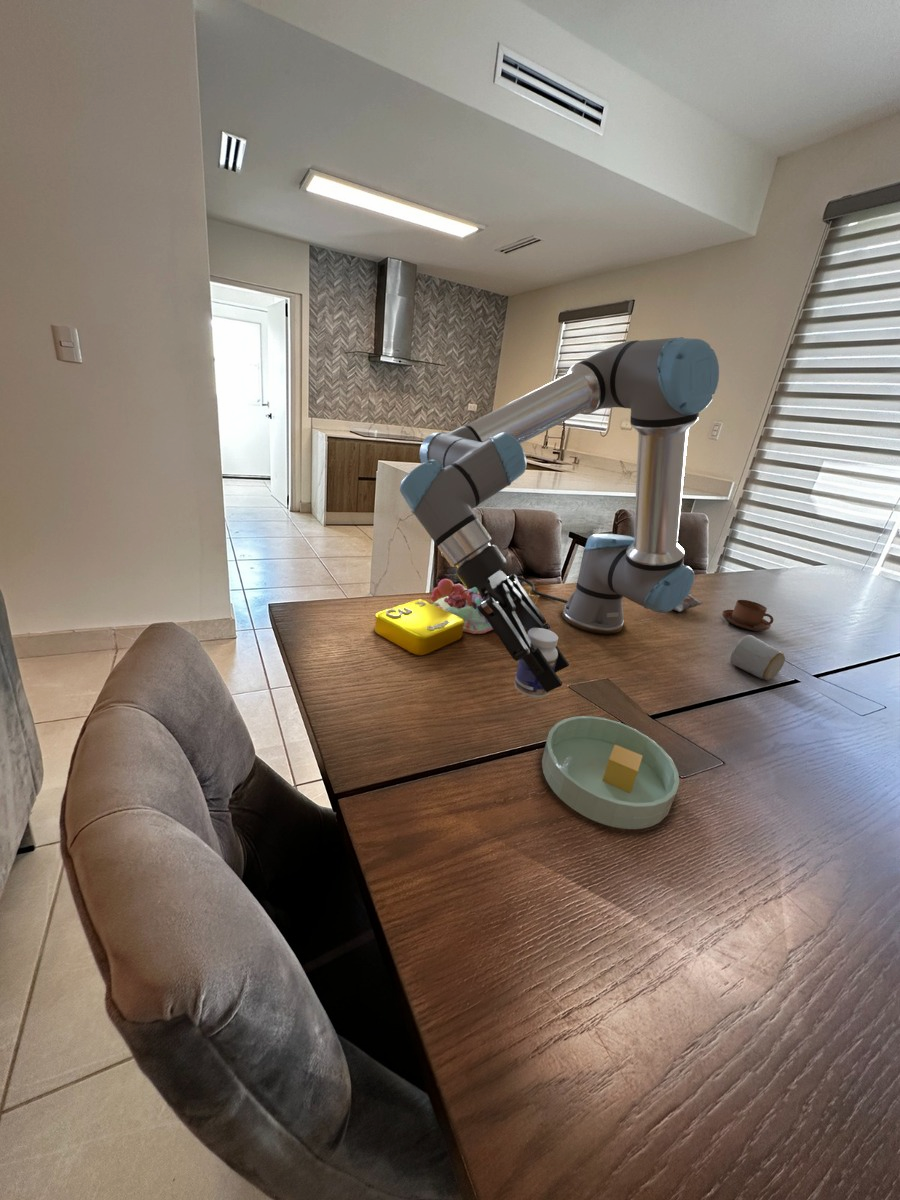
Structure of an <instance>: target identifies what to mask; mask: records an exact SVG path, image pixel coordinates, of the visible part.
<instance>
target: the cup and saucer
mask: <svg viewBox="0 0 900 1200" xmlns="http://www.w3.org/2000/svg"><path fill="white" fill-rule="evenodd" d="M767 609H768V608H767V607H766V606H765V605H763V604H761V603H758V602H755V601H752V600H748V599H737V600H736V603H735V605H734V608H733V609H725V610H723V611H722V617H723V618H724V619H725V620H726V621H727V622H728V623H730V624H732V625H733V626H735V627H738V628H741V629H744V630H749V631H756V632H763V631H766V630H770V628H771V627H772V624H773V623H774V617H773V616H772V615H771V614H769V613H767ZM765 617H767V618H769V620H770V621H768V620H766V619H765Z"/></svg>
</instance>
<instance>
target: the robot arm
mask: <svg viewBox="0 0 900 1200" xmlns="http://www.w3.org/2000/svg"><path fill="white" fill-rule="evenodd" d="M719 365H720V364H719V360H718V356H717V354H716V352H715V350H714V349H713V348H712V347H711V345H710V343H708V342H706V341H705V340H703V339H700V338H689V337H682V336H680V337H667V338H657V339H645V340H644V339H643V340H636V339H635V340H627V341H624V342H620V343H618V344H615V345H613V346H610V347H607V348H606V349H604V350H601V351H599V352H597V353H595V354H592V355H591V356H589V357H587V358H584V359H583V360H580V361H579V362H577V363H575V364H573V365H571V366H570V367H569V368H568V369H567V371H566V373H565V375H563V376H561V377H559V378H557V379H555V380H554V381H551V382H549V383H547V384H545V385H543V386H541V387H539V388H537V389H535V390H533V391H531V392H529V393H526V394H525V395H523V396H521V397H519V398H517V399H515V400H513V401H511V402H509V403H507V404H505V405H503V406H501V407H499V408H497V409H495V410H493V411H491V412H489V413H487V414H485V415H483V416H481V417H479V418H477V419H475V420H473V421H471V422H469V423H466V424H464V425H462V426H459V427H458V428H456V429H454V430H451V431H449V432H444V431H441V432H433V433H430V434H429V435H428V436H426V437H425V438H424V440H423V441H422V443H421V445H420V448H419V460H420V464H419V465H418V466H415V468H413V469H412V470H410V472H408V474H406V476H405V477H404V478H402V480H401V482H400V485H399V493H400V494H401V496H402V498H403V499H404V501H405V502H406V505H407V506H408V507H409V509H410V510H411V513H412V515H414V516H415V517H416V519H417V520H418V521H419V523H420V524H421V526H422V528H423V529H424V530H425V531H426V532H427V534H428V535H429V537H430V538H431V539H432V541H433V542H434V544H435V545H436V547H437V548H438V550H439V551H440V554H441V557H442V558H445V560H446V561H447V562H448V564H449V565H450V567H453V568H454V567H456V569H455V575H456V576H457V577H458V579H459V580H460V582H461V583H462V585H463V587H464V588H465V589H466V590H469V589H472V588H473V587H476V588H477V589H478V591H479V593H480V596H481V598H482V599H483V601H482V603H480V604H479V605H477V608H478V610H479V611H480V612H481V614H482V615H483V616H484V617H485V618H486V619H487V620H488V622H489V623H490V625H491V626H492V628H493V629H494V630H493V631H494V633H495V634H496V635H497V637H498V638H499V640H500V641H501V643H502V645H503V646H504V647H505V649H506V651H507V652H508V654H509V655H510V656H511V658H512V659H513V660H514V661H516V662H519V660H520V659H522V658H523V659H524V661H525V662H526V664H527V665H528V667H529V668H530V669H531V671H532V672H533V674H534V675H535V677H536V678H537V680H538V681H539V682H540V684H541V685H542V687H543V688H544V690H545V691H546V692H549V693H550V692H551V691H553V690H555V689H557V688H559V687H561V686H563V681H562V680H561V679H560V677H559V676H558V674H557V673H558V672H559V671H561V670H564V669H566V668H568V667H569V666H570V663H569V662H568V660H567V658H566V657H565V655H564V654H563V653H562V651H561V649H560V648H559V646H558V645H557V646H556V647H555V648H556V649H557V651H558V657H557V662H556V666H555V670H553V669H552V667H551V666H550V664H549V663H548V662H547V660H546V659H545V657H544V656H543V654H542V653H541V651H540V650H539V649H538V648H537V649H535V648H534V646H533V644H532V642H531V641H530V639H529V637H528V635H527V634H528V631H529V630H530V629H532V628H543V629H547V630H550V628H551V625H550V623H549V622H547V620H546V618H545V617H544V615H543V614H542V613H541V611H540V610H539V608H538V607H537V606H536V604H534V603H533V602H532V600H531V599H530V597H529V596H528V595H527V593H526V592H525V590H524V589H523V588H522V587H523V585H521V583H520V581H522V582H523V583H525V584H526V585H529V586H531V587H532V590H531V592H532V593H533V594H534V595H539V597H543V598H546V599H549V600H552V601H556V602H560V603H563V604H564V606H563V610H562V614H561V616H562V619H564V621H565V622H567V623H568V624H569V625H571V626H572V627H575V628H577V629H579V630H582V631H584V632H589V633H594V634H598V635H599V634H600V635H611V634H612V635H613V634H617V633H619V632H621V631H622V629H623V625H624V621H625V620H624V609H623V607H624V606H623V598H625V599H627V600H629V601H631V602H633V603H636V604H637V605H639V606H641V607H643V608H644V609H646V610H650V611H653V612H655V613H658V614H666V613H669V612H671V611H674V610H673V609H674V608H676V607H677V606H678V605H679V604H680V603H681V602H682V601H683V600H684V599H685V597H686V596H687V595H688V593H691V590H692V587H693V585H694V583H695V571H694V569H692V567H690V566H689V565H687V564H684V562H685V561H684V559H685V549H684V548H683V546H681V545H680V543H678V541H679V530H680V520H681V509H682V498H683V489H684V479H685V478H684V477H685V468H686V458H687V457H686V456H687V446H688V437H689V430H690V428H692V426H693V425H695V423H696V422H697V421H699V418H700V413H701V412H703V411H704V410H706V408H708V406H709V405H710V404H711V403H712V401H713V395H715V394H716V392H717V389H718V385H719V380H720V366H719ZM608 408H609V409H610V408H622V409H628V410H629V409H630V421H629V422H630V426H631V427H632V428H633V429H634V430H635V431H636V432H637V433H638V435H637V436H638V439H637V457H636V459H637V461H636V481H635V482H636V484H635V485H636V486H635V505H634V507H635V509H634V531H633V534H634V535H633V536H630V535H623V534H615V533H594V534H592V535H590V536H589V537H588V538H587V540H586V543H585V546H584V549H583V553H582V558H581V562H580V567H579V572H578V577H577V580H576V585H575V589H574V591H573V592H572V594H571V595H570V597H569V598H568V599H564V598H560V597H557V596H554V595H553V596H552V595H550V594H546V593H543V592H540V591H538V590H536V585H535V584H534V583H533V582H532V581H530V580H528V579H526V578H524V577H521V576H517V575H516V574H515V573H511V574H510V575H508V576H507V574H506V573H505V572H504V571H503V570H502V569H503V568H504V567H505V566H506V565H507V559H506V557H505V556H504V555H503V553H502V552H501V550H500V549H499V547H498V546H497V544H494V543H493V544H491V541H492V537H491V535H490V533H489V532H488V531H487V529H486V528H485V527H484V525H483V524H482V522H481V521H480V520H479V518H478V517H477V515H476V514H475V513H474V511H473V510H474V509H475V508H476V507H478V506H479V505H480V504H482V503H484V502H485V501H487V500H489V499H490V498H491V497H493V496H494V495H496V494H498V493H499V492H501V491H502V490H504V489H505V488H507V487H509V486H511V485H512V483H513V482H514V481H516V480H517V479H518V478H520V477H521V476H522V475H524V473H526V470H527V465H528V463H527V462H528V461H527V456H526V454H525V450H524V448H523V446H522V444H524V443H526V442H527V441H530V440H531V439H533V438H535V437H536V436H539V435H541V434H542V433H545V432H546V431H549V430H550V429H552V428H554V427H557V426H558V425H559V424H562V423H564V422H565V421H566V422H567V421H568V420H570V419H571V418H573V417H575V416H577V415H579V414H581V415H591V414H593V413H594V412H596V411H599V410H603V409H608Z"/></svg>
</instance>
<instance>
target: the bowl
mask: <svg viewBox="0 0 900 1200" xmlns="http://www.w3.org/2000/svg"><path fill="white" fill-rule="evenodd" d="M546 737H547V738H546V743H545V745H544V750H543V754H542V759H541V767H542V773H543V775H544V778H545V781H546V782H547V784H548V786H549V787H550V788H551V790H552V792H553V793H554V794H555V795H556V796H557V797H558V798H559V799H560V800H561V801H562V802H563V803H564V804H566V805H567V806H568V807H569V808H571V809H572V810H573V811H575V812H577V813H579V814H580V815H581V816H583V817H586V818H587V819H589V820H591V821H594V822H595V823H599V824H601V825H605V826H607V827H612V828H617V829H624V830H642V829H646V828H650V827H653V826H655V825H658V824H660V823H661V822H662V821H663V820H664V819H665V818H666V817H667V816H668V815H669V812H670V810H671V807H672V804H673V802H674V799H675V797H676V795H677V793H678V789H679V787H680V776H679V770H678V769H677V766H676V764H675V762H674V761H673V759H672V757H671V756H670V755H669V754H668V753H667V752H666V750H665V749H664V748H663V747H662V746H661V745H659V744H658V743H657V742H655V741H654V740H653V739H652V738H651V737H650V736H647V735H646V734H644V733H643V732H641V731H639V730H638V729H636V728H634V727H633V726H632V727H631V726H629V725H627V724H625V723H622V722H620V721H616V720H613V719H609V718H606V717H599V716H593V715H577V716H572V717H568V718H564V719H562V720H561V721H558V722H556V723H555V724H554V725H553V726H552V728H550V729H549V731H548V734H547V736H546ZM615 744H616V745H618V746H620V747H623V748H625V749H628V750H630V751H633V752H635V753H637V754H640V755H642V756H643V757H642V760H641V764H640V767H639V770H638V773H637V776H636V779H635V782H634V785H633V788H632V791H631V793H628V792H626V791H624V790H622V789H619V788H617V787H615V786H613V785H610V784H608V783H606V782H604V781H602V780H603V777H604V773H605V770H606V767H607V764H608V761H609V758H610V755H611V753H612V750H613V748H614V745H615Z"/></svg>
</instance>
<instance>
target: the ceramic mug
mask: <svg viewBox="0 0 900 1200" xmlns="http://www.w3.org/2000/svg"><path fill="white" fill-rule="evenodd" d="M785 663H786V656H785V654H784V653H783V652H782V651H781V650H780V649H778V648H776V647H774V646H772V645H771V644H768V643H766V642H764V641H763V640H761V639H759V638H757V637H755V636H754V635H751V634H748V635H746V636H744V637H742V638H741V639H740V640H739V642H738V643H737V644H736V645H735V647H734V648H733V651H732V653H731V655H730V664H732V665H733V666H736V667H737V668H739V669H741V670H743V671H745V672H747V673H749V674H751V675H753V676H755V677H757V678H759V679H762V680H765V681H769V680H771V679H774V678H775V677H776V676H777V675H778V674H779V673H780V671H781V670H782V668H783V666H784V664H785Z"/></svg>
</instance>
